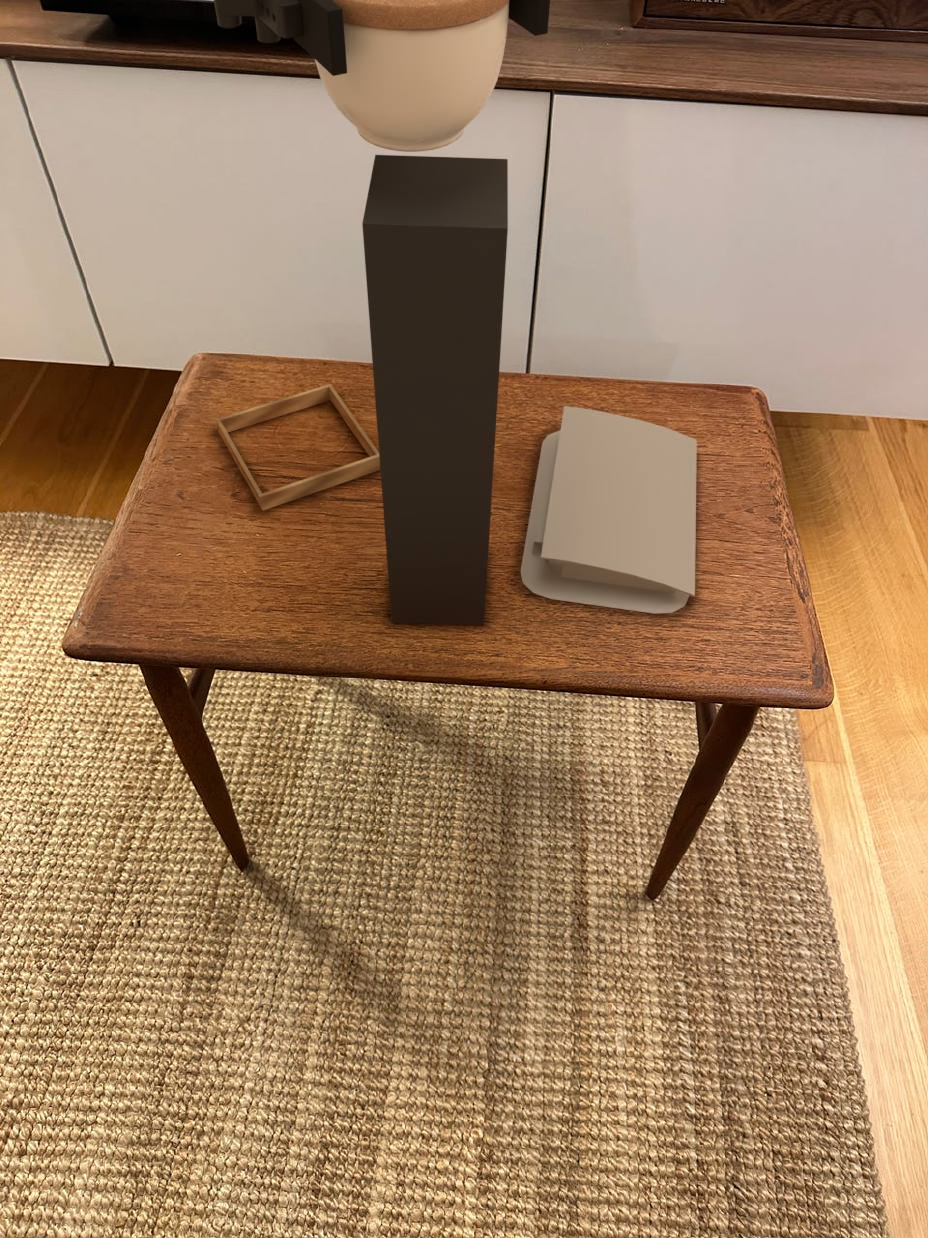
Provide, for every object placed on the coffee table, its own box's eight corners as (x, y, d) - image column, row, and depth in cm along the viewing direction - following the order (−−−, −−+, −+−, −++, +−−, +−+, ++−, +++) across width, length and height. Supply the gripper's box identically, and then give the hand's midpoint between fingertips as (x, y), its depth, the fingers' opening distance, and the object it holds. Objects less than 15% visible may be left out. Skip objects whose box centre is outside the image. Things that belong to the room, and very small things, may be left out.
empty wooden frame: (262, 510, 86) (259, 497, 84) (219, 432, 93) (215, 419, 91) (382, 469, 90) (381, 455, 88) (332, 397, 96) (330, 383, 95)
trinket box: (505, 90, 55) (515, -103, 47) (503, 176, 48) (515, -32, 41) (328, 83, 55) (311, -110, 47) (303, 168, 48) (278, -41, 41)
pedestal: (391, 622, 78) (362, 223, 49) (398, 554, 83) (375, 154, 54) (484, 626, 78) (507, 227, 49) (485, 556, 83) (507, 158, 54)
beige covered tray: (516, 594, 80) (519, 565, 77) (545, 426, 94) (548, 396, 91) (690, 618, 79) (700, 590, 76) (693, 445, 93) (701, 414, 90)
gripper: (442, -54, 62) (626, 64, 51) (108, -1, 55) (232, 150, 44) (442, -198, 56) (650, -102, 45) (68, -160, 49) (199, -34, 38)
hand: (445, 23), depth 44 cm, fingers closed on trinket box, 11 cm apart
